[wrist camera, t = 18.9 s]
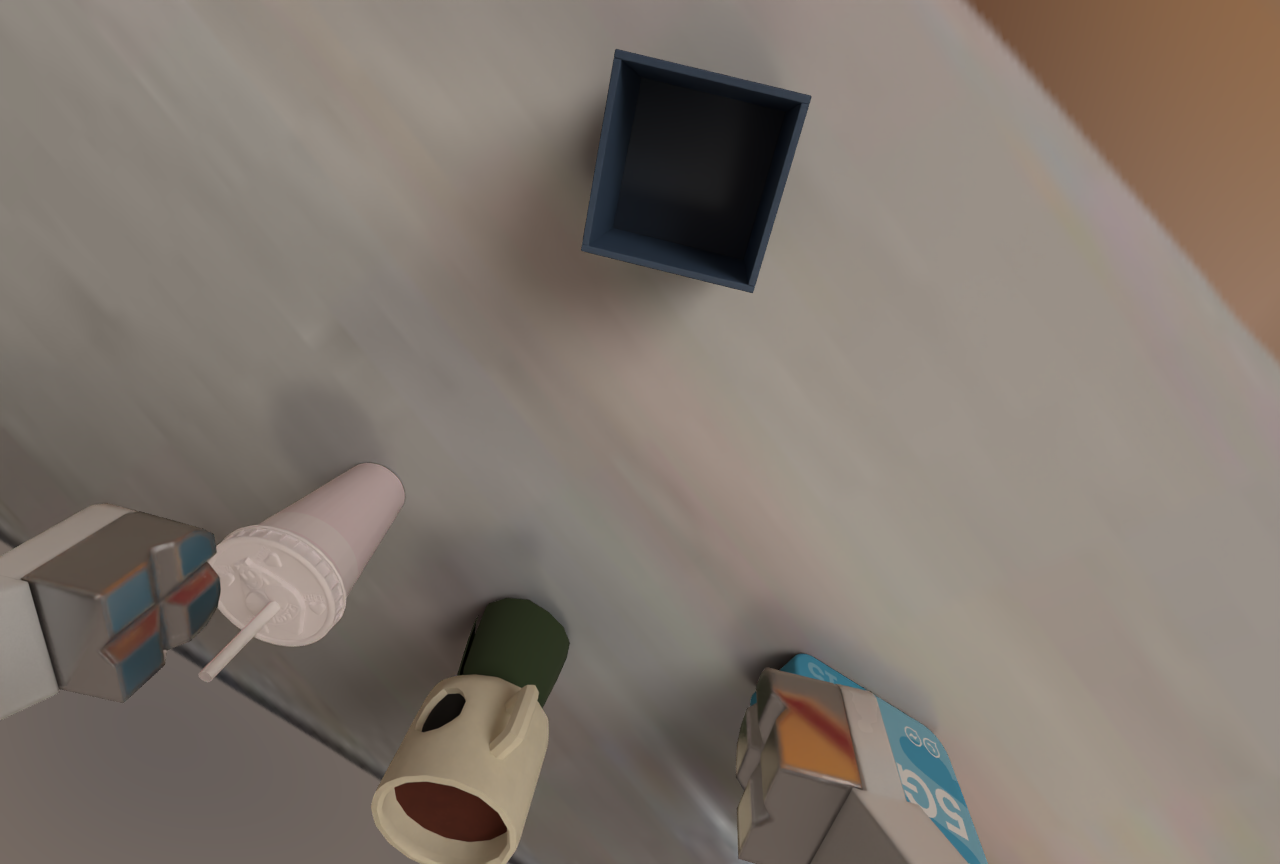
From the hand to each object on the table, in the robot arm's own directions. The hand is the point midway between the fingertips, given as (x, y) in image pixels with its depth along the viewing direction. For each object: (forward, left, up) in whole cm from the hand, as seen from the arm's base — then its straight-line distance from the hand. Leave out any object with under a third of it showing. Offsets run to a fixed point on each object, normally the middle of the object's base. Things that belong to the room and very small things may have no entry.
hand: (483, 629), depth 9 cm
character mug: (-11, -21, -24) cm, 33 cm away
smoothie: (-18, -10, -24) cm, 31 cm away
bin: (+2, +2, -20) cm, 20 cm away
